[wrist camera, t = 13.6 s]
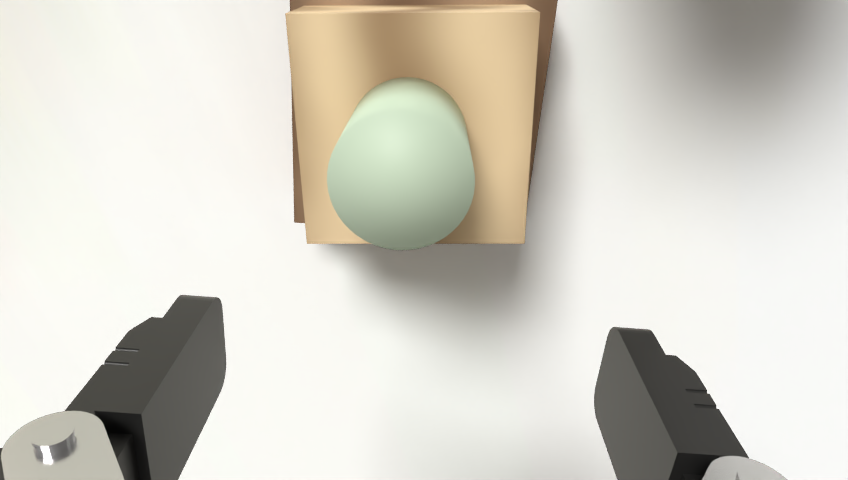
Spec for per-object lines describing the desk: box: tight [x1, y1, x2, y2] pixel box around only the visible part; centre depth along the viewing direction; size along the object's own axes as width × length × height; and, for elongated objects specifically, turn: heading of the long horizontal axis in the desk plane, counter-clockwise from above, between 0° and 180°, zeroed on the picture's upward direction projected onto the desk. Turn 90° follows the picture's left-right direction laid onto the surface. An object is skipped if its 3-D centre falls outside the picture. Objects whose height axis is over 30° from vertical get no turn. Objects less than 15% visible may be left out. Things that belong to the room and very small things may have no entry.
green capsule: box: [327, 77, 475, 250], centre depth 24 cm, size 5×5×6 cm
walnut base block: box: [290, 0, 558, 223], centre depth 32 cm, size 12×12×4 cm
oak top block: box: [285, 5, 540, 244], centre depth 28 cm, size 10×10×4 cm
